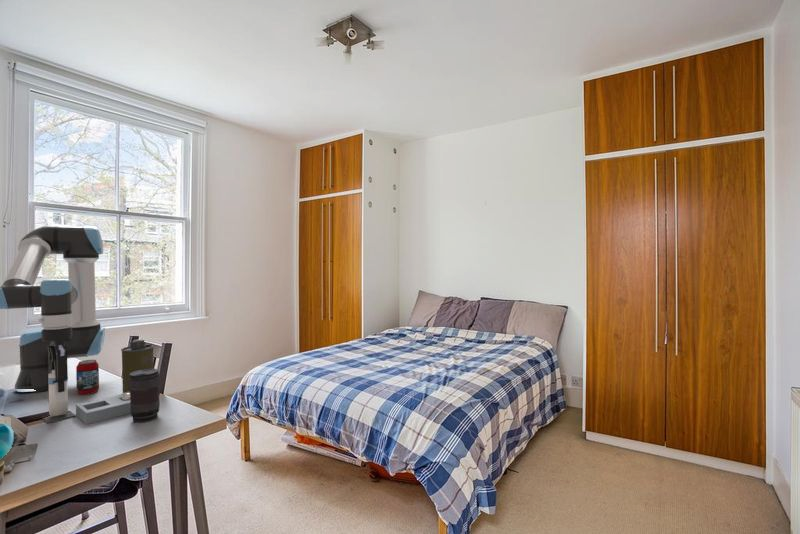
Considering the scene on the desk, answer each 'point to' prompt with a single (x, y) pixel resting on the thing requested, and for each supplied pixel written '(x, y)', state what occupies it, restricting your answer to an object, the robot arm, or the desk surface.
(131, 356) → the canister
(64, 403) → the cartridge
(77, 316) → the robot arm
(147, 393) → the camera lens
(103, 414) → the block
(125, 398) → the plunger
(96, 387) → the beverage can
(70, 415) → the mat
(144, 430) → the desk surface
